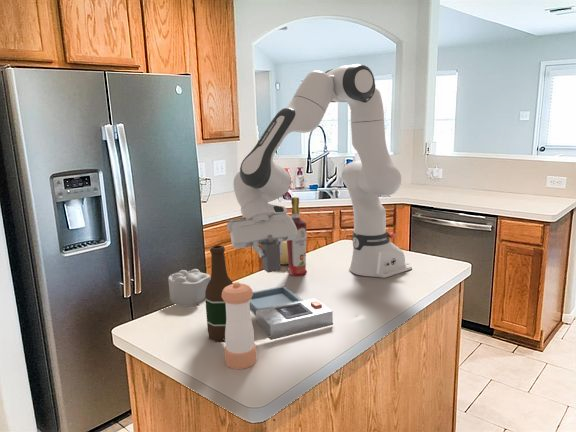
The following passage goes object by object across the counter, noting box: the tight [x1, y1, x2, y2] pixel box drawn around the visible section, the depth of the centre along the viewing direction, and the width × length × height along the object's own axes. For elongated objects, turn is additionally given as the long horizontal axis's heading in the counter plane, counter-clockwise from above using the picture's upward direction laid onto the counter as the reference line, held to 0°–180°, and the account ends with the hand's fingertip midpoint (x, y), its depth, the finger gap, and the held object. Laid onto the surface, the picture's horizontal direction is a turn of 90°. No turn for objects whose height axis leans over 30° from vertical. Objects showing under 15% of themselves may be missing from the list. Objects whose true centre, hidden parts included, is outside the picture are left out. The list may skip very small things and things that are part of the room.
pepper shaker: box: [221, 281, 257, 370], centre depth 104 cm, size 7×7×19 cm
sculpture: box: [280, 241, 289, 265], centre depth 177 cm, size 12×12×11 cm
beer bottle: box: [204, 244, 234, 343], centre depth 116 cm, size 8×8×24 cm
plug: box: [261, 235, 281, 274], centre depth 134 cm, size 4×4×10 cm
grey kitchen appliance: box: [255, 298, 334, 341], centre depth 123 cm, size 18×10×5 cm, turn 115°
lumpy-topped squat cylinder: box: [168, 268, 211, 307], centre depth 144 cm, size 10×13×9 cm
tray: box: [250, 285, 304, 313], centre depth 137 cm, size 14×14×2 cm
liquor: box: [287, 196, 308, 277], centre depth 159 cm, size 7×7×28 cm
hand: (271, 255), depth 133 cm, fingers closed on plug, 4 cm apart
